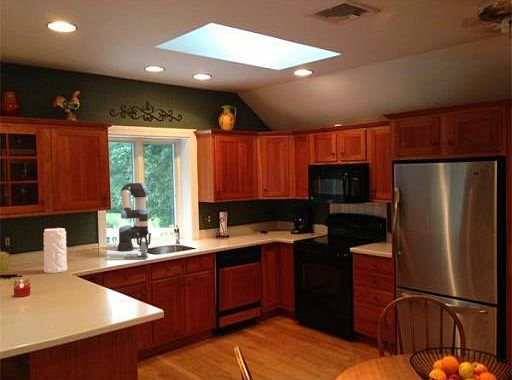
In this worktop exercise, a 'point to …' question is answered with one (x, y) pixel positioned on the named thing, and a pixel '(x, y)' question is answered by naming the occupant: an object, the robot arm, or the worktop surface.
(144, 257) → the slot channel
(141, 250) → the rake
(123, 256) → the tray
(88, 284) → the worktop surface
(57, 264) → the paper towel roll
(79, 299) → the worktop surface
